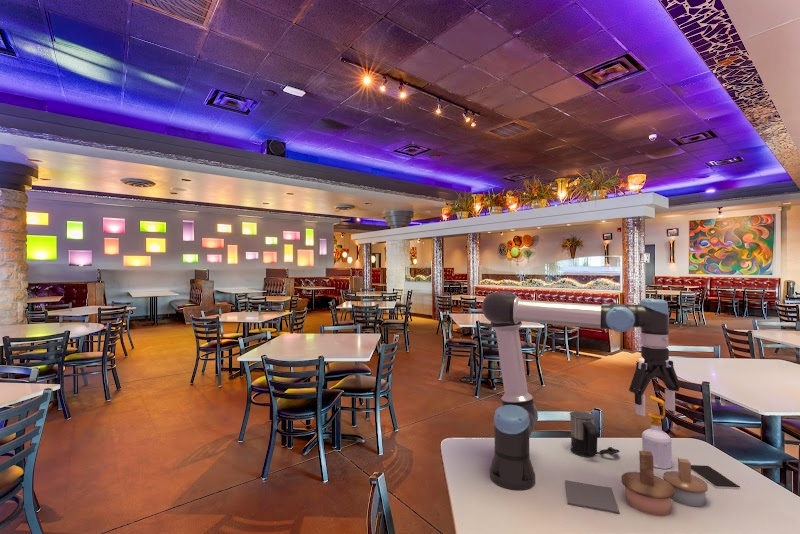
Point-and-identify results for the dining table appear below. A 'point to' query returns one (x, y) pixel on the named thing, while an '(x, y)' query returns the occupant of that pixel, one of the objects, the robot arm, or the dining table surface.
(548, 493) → the dining table surface
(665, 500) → the terracotta bowl
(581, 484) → the rubber mat
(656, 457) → the soap bottle
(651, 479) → the walnut lid
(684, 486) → the slate bowl covered
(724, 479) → the smartphone
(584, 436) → the milk frother
